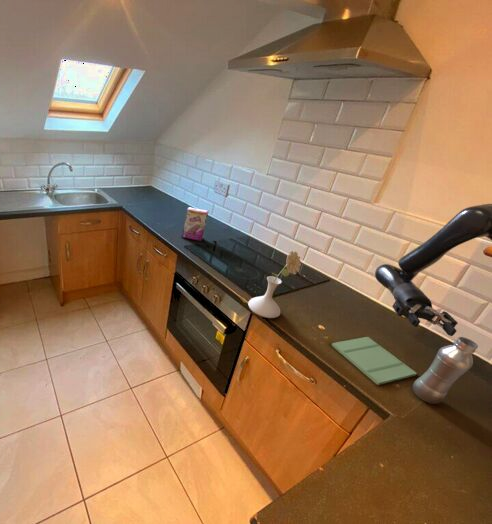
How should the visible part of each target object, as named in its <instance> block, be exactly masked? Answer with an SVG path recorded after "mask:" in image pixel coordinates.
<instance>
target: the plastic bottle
mask: <svg viewBox="0 0 492 524" xmlns="http://www.w3.org/2000/svg"><path fill="white" fill-rule="evenodd" d="M478 348H479V345H478V344H477V343H476V342H474V341H473V340H471V339H470V338H467V337H464V336H458V338H456V340H454V342H453V344H449V345H444V346H442V347H440V348H439V349H438V350H437V353H436V354H435V357H434V359H433V361H432V362H431V364H430V365H429V367H428V369H427V370H426V371H424V373H423V374H422V375H421V376H419V377H418V378H417V379H416V380H414V382H413V384H412V390H413V392H414V394H415V396H417V397H418V398H419V399H420V400H422V401H424V402H426V403H428V404H430V405H431V404H432V405H437V404H440V403H442V402H443V401H444V400H445V399H446V397H447V395H448V392H449V391H450V389H451V387H452V386H453V384H454V383H456V381H457V380H458V379H459V378H460V377H461V376H463V375H464V374H466V372H468V371H469V370H470V369H471V368H472V367H473V364H474V360H473V359H474V357H473V354H475V352H476V350H477V349H478Z"/></svg>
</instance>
